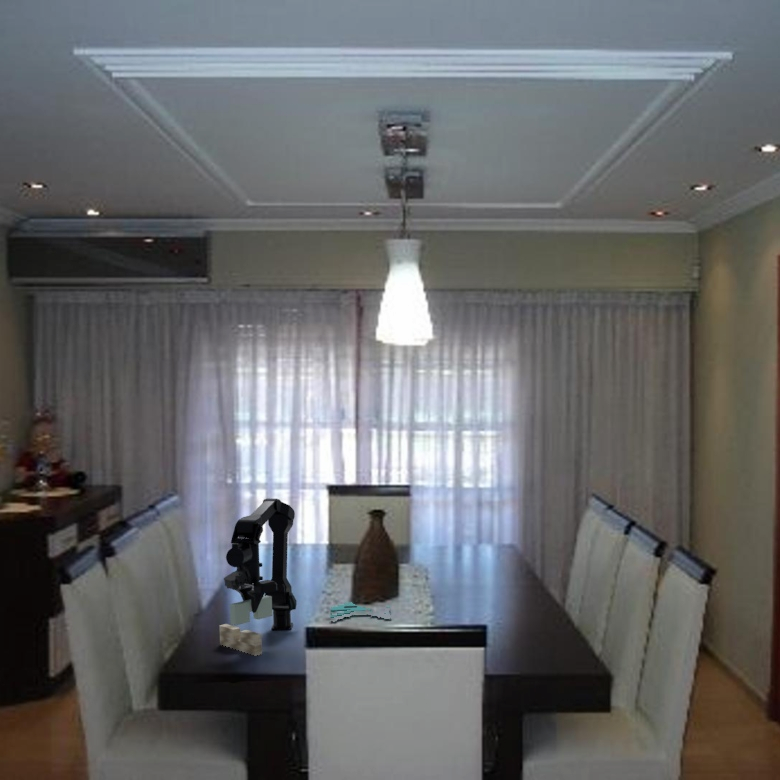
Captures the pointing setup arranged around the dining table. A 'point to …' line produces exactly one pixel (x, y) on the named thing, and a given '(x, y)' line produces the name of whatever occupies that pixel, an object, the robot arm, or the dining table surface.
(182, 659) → the dining table surface
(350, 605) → the alien figure
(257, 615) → the pale green slotted board
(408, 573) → the dining table surface
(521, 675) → the dining table surface
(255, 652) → the birch slotted board
